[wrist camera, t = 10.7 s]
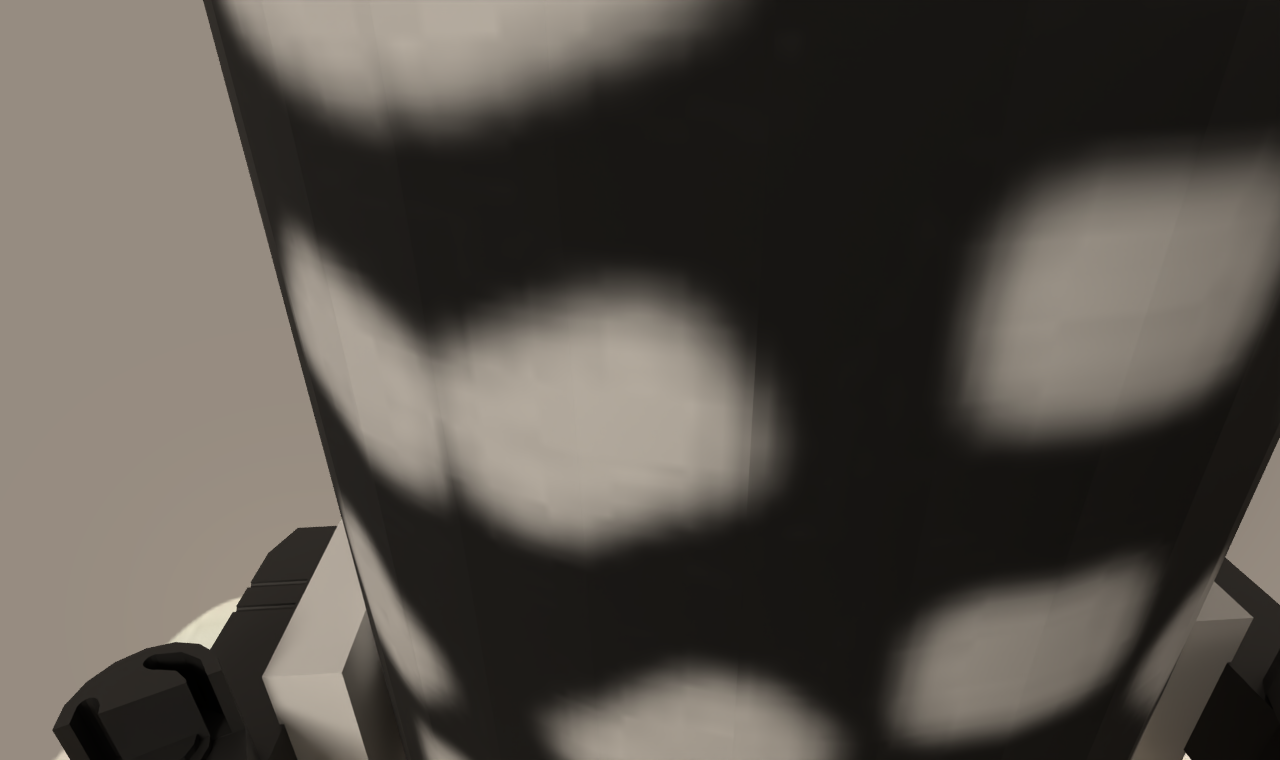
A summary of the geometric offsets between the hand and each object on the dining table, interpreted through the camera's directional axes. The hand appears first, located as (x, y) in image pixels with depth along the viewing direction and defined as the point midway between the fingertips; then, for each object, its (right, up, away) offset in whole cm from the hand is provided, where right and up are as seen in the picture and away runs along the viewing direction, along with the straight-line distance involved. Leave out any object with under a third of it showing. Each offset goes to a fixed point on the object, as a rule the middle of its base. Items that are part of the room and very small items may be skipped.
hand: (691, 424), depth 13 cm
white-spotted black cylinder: (+1, -12, +1) cm, 12 cm away
